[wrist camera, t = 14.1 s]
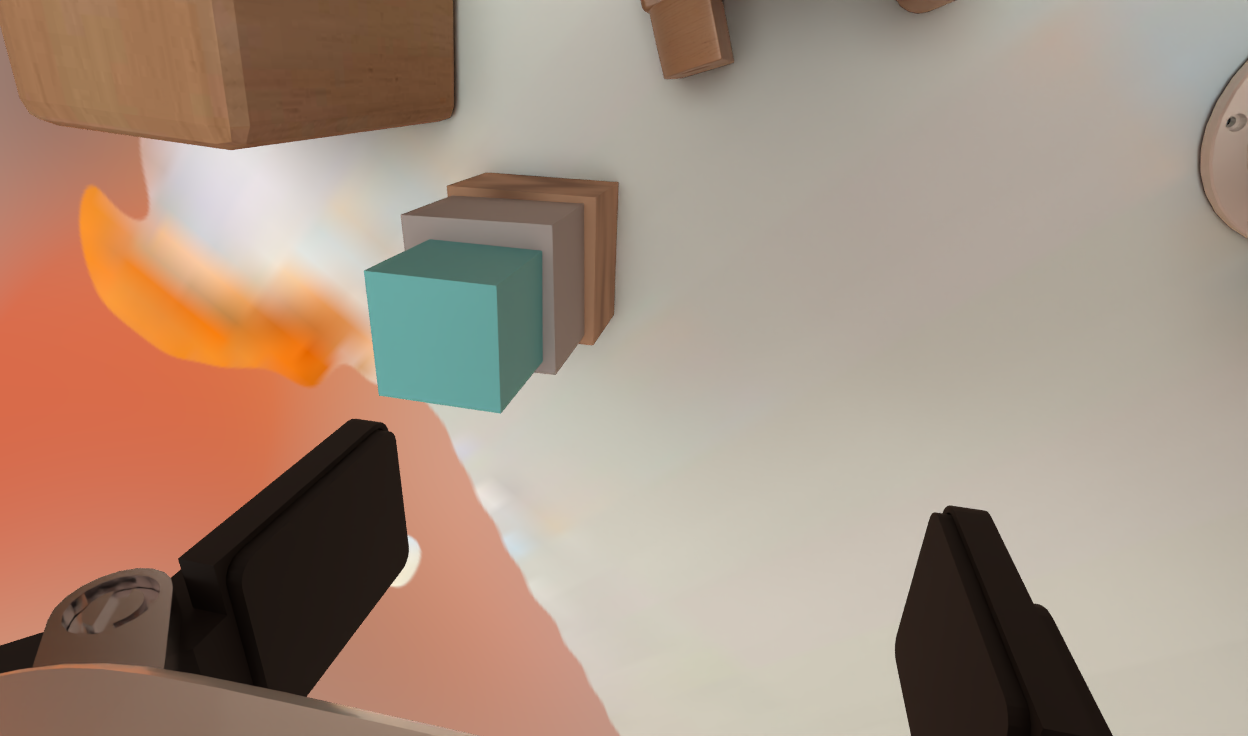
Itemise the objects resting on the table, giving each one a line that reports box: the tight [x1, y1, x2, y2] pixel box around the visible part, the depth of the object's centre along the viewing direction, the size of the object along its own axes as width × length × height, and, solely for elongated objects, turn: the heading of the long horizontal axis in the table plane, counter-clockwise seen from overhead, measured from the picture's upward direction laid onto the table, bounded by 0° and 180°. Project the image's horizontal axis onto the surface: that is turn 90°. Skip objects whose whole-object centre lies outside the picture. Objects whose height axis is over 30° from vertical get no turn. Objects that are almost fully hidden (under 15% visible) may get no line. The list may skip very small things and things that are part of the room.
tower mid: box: [401, 195, 584, 375], centre depth 37 cm, size 8×8×6 cm
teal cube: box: [364, 239, 543, 413], centre depth 32 cm, size 6×6×6 cm
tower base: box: [447, 173, 618, 345], centre depth 42 cm, size 9×9×6 cm
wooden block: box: [0, 0, 454, 150], centre depth 33 cm, size 10×10×20 cm
